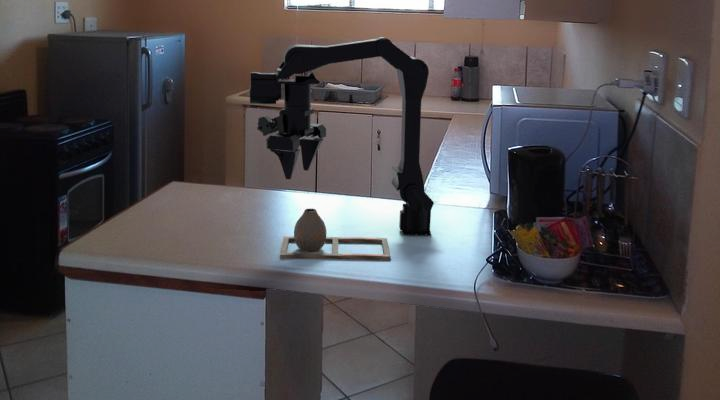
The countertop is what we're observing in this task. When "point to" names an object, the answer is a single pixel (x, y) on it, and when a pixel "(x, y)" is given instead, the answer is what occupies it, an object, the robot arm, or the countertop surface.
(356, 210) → the countertop surface
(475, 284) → the countertop surface
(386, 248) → the rail frame
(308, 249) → the vase
